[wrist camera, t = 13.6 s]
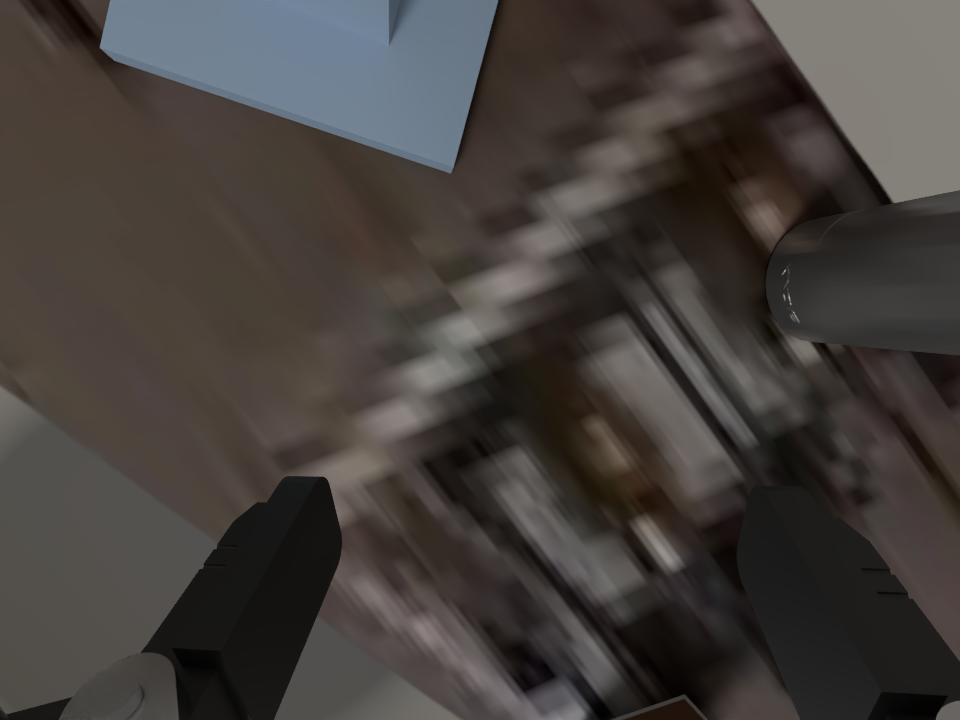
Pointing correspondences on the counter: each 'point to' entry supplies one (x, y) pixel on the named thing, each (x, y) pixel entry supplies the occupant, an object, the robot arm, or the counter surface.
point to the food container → (667, 711)
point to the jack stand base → (322, 62)
